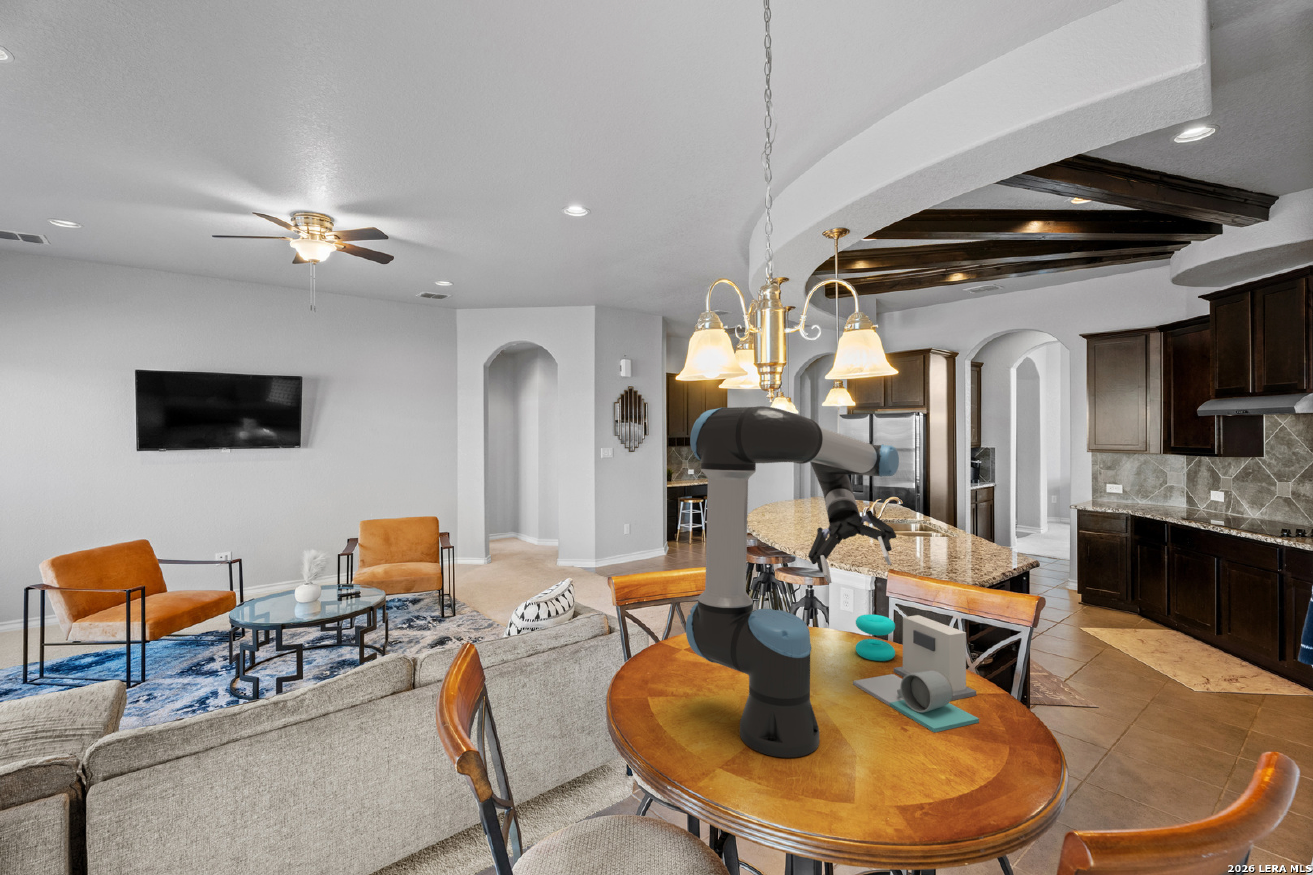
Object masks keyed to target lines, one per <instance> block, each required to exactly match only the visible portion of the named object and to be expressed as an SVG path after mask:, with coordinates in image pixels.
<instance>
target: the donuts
mask: <svg viewBox="0 0 1313 875" xmlns="http://www.w3.org/2000/svg"><path fill="white" fill-rule="evenodd" d="M855 625H856V627H857V628H858V630H859V631H861V632H863V633H865V634H869V635H873V636H888V635H890V634H892V633H893V632H894V631H895V629H896V623H895V621H893V620H892V618H889V617H887V616H884V615H881V614H861V615H860V616H857V618H856V619H855ZM855 651H856V653H857V654H858V655H859V656H860V657H861V658H863V659H866V660H870V661H875V662H886V661H887V662H888V661H890V660H893V659H894V658H895V656H896V650H895V647H894V646H892V645H891V643H888V642H887V641H885V640H881V639H876V638H864V639H861V640H859V641H858V642H857V643H856V644H855Z"/></svg>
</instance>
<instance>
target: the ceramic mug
mask: <svg viewBox="0 0 1313 875" xmlns="http://www.w3.org/2000/svg"><path fill="white" fill-rule="evenodd" d="M900 687H901V689H898V690H897V693H898V696H899V697H903V699H904V701H905V703H906V704H907V705H908V706H909V707H910V708H911V709H912V710H914V711H916V712H919V713H924V712H927V711H930V710H934V709H936V708H940V707H943V706H945V705H947V704H948V703H950V702H952V701H951V699H952V696H953V690H952V686H951V684H950V682H949V680H948V679H947V678H946V677H945V676H944V675H943V674H941V673H939V672H936V671H924V672H917V673H910V674H907V675H906V676H904V677H902V681H901V686H900Z"/></svg>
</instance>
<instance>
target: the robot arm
mask: <svg viewBox="0 0 1313 875" xmlns="http://www.w3.org/2000/svg"><path fill="white" fill-rule="evenodd" d="M689 440H690V441H689V443H690V449H691V451H692V452H693V455H694V456H695V458H696V459H697V460H699V461H700V471H701V472H702V473H703V474H704V475H705V476H706V478H707V495H706V496H707V503H706V504H707V506H706V539H705V540H706V542H705V543H706V546H705V548H706V549H705V550H706V551H705V584H704V585H705V586H704V587H705V590H703V592H702V593H700V594H699V595H698V598H697V602H696V603H695V604H694V605H692V607H691V608H690V610H689V612H690V614H688V615H687V618H686V621H685V622H686V624H685V635H686V640H687V643H688V645H689V647H690V649H691V650H692V651H693V652H694V653H695V654H696V656H699V657H702V658H703V659H705V661H708V662H710V663H714V664H718V665H721V666H723V667H725V668H730V669H731V670H734V671H737V672H740V673H743V674H745V675H748V695H747V699H746V702H745V706H744V708H743V711H742V715H741V718H740V721H739V736H740V739H741V740H742V742H743V743H744V744H745V745H746V746H747V747H749V748H750V749H752V750H754V751H757V753H760V754H764V755H767V756H771V757H776V758H798V757H804V756H807V755H810V754H812V753H813V752H814V751H816V750H817V749H818V747H819V745H820V728H819V725H818V722H817V718H816V716H815V712H814V710H813V705H812V703H811V702H812V701H811V651H812V644H811V634H810V629H809V627H808V625H807V623H806V622H805V621H804V620H803V619H802V618H801V617H799V616H797V615H795V614H793V613H790V612H788V611H785V610H782V609H776V610H775V609H773V608H759V609H756V610H753V607H754V604H753V603H754V602H753V601H754V600H753V599H752V597H751V596H750V595H749V594H748V593H747V591H746V590H747V557H748V556H747V554H748V551H747V549H748V548H747V547H748V507H749V506H748V504H749V503H748V502H749V499H748V497H749V479H750V478H751V477H752V476H753V475H754V474H755V473H756V470H757V469H756V467H757V466H756V465H757V464H774V463H778V464H779V463H795V464H799V465H801V464H803V465H804V464H807V463H810V465H811V468H812V469H813V472H814V474H815V477H816V479H817V482H818V485H819V486H820V488H821V491H822V495H823V499H824V503H825V505H824V506H825V509H826V514H827V519H828V523H829V525H828V528H824V529H823V528H822V527H821V526H820V527H818V528H817V530H816V533H817V535H816V537H815V539H814V541H813V544H812V546H811V548H810V550H809V552H808V556H807V557H808V559H809V560H810V563H811V564H812V565H816V564H817V568H818V570H819V571H820V573H823V577H824V578H825V580H826V582H827V583H828V584H832V577H831V573H830V567H829V562H828V561H827V559H828V558H829V556H830V555H831V553H832V552H833V550H834V549H835V548H836V547H837V545H840V543H841V542H842V541H843V540H847V539H849V538H853V537H855V536H857V535H861V536H863V537H864V536H866V537H869V538H870V539H873V540H876V541H878V542H879V546H880V549H881V552H882V555H883V558H884V561H885V562H886V564H887V566H891V565H892V561H891V558H890V556H889V552H891V551H892V549H893V548H892V546H891V542H890V540H891V539H896V538H897V537H898V536H897V534H896V533H895V532H896V531H895V530H894V528H893V527H892V526H890V525H889V524H888V523H886V522H884V521H883V520H881V519H880V518H878V517H877V516H876V515H874V513H873V511H872V510H867V511H866V514H865V515H862V516H861V515H860V511H859V508H858V504H857V501H856V498H855V494H854V492H853V491H854V490H853V486H852V484H851V483H852V482H851V479H850V475H851V476H868V477H880V478H881V477H892V476H894V475H895V474H896V473H897V472H898V468H899V464H900V456H899V452H898V450H897V448H896V447H895V446H893V445H889V444H888V445H886V444H885V445H884V444H872V443H868V442H865V441H862V440H859V439H856V438H853V437H850V436H848V435H844V434H841V433H837V432H835V431H833V430H829V429H826V428H824V427H821V426H820V424H818V422H816V420H813V419H811V418H808V417H806V416H803V415H800V414H797V413H794V412H791V411H787V410H785V409H780V408H776V407H771V406H765V405H763V406H762V405H761V406H759V405H758V406H744V407H741V406H740V407H739V406H738V407H719V408H715V409H714V408H713V409H709V410H705V411H704V412H702V413H701V414H700V415H699V417H698V418H696V420H695V422H694V423H693V426H692V429H691V432H690V439H689ZM865 523H868V524H870V525H871V524H872V526H874V527H872V526H868V525H866V524H865Z"/></svg>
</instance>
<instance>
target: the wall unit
mask: <svg viewBox="0 0 1313 875" xmlns="http://www.w3.org/2000/svg"><path fill="white" fill-rule="evenodd" d="M966 652H967V632H965V631H963V630H960V629H957V628H954V627H952V626H949V625H947V624H943V623H941V622H938V621H937V620H934V619H930V618H928V617H925V616H922V615H920V614H915V615H911V616H910V615H909V616H903V617H902V666H897V667H893V673H894V674H895V675H897V676H900V677H902V678H903V677H904V676H906V675H907V674H910V673H917V672H924V671H936V672H939V673H941V674H943V675H944V676H945V677H946V678H947V679H948V680H949V682H950V684H951V686H952V690H953V696H952V699H951V701H950V702H953V701H956V700H962V699H966V698H971V697H975V696H977V690H975V689H972V688H970V687H969V686H967V653H966Z"/></svg>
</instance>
